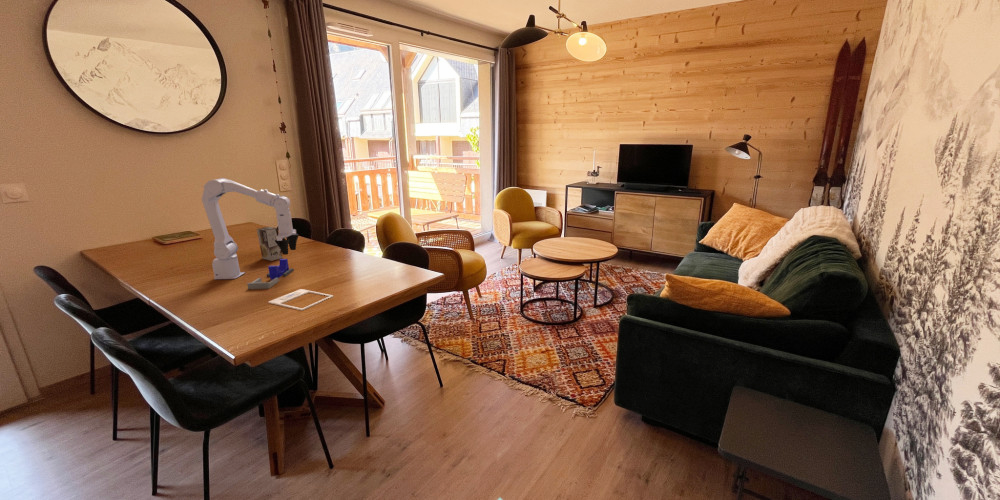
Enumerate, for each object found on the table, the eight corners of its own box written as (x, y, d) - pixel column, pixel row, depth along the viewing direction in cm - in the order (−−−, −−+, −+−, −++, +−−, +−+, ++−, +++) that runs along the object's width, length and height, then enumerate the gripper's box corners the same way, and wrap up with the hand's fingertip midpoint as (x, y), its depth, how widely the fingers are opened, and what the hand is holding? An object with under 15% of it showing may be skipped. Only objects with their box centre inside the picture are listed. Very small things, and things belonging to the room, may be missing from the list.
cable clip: (279, 271, 190) (277, 259, 189) (289, 270, 190) (287, 258, 189) (266, 279, 179) (264, 266, 177) (277, 279, 179) (275, 266, 177)
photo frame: (300, 288, 165) (333, 295, 158) (301, 291, 166) (333, 297, 158) (268, 301, 152) (301, 308, 145) (268, 303, 153) (302, 311, 146)
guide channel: (266, 276, 182) (266, 274, 181) (275, 271, 189) (275, 268, 189) (285, 276, 182) (285, 273, 182) (293, 270, 190) (293, 268, 189)
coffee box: (283, 258, 211) (278, 228, 206) (271, 261, 205) (265, 230, 201) (273, 255, 215) (268, 226, 211) (261, 258, 210) (256, 228, 206)
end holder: (248, 289, 167) (247, 283, 166) (259, 281, 175) (258, 276, 175) (268, 288, 167) (267, 283, 167) (278, 281, 176) (278, 276, 175)
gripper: (286, 226, 175) (290, 256, 179) (300, 220, 189) (304, 247, 193) (269, 226, 175) (274, 256, 178) (285, 220, 189) (290, 248, 192)
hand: (289, 252), depth 185 cm, fingers open, 7 cm apart
